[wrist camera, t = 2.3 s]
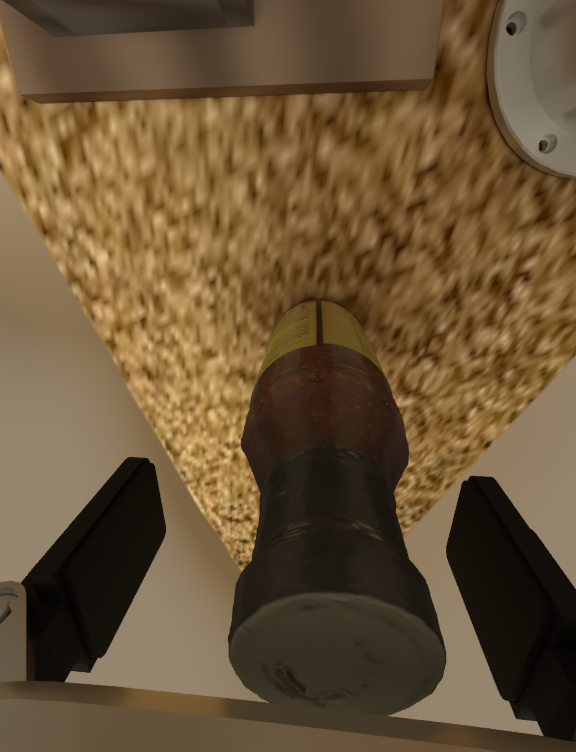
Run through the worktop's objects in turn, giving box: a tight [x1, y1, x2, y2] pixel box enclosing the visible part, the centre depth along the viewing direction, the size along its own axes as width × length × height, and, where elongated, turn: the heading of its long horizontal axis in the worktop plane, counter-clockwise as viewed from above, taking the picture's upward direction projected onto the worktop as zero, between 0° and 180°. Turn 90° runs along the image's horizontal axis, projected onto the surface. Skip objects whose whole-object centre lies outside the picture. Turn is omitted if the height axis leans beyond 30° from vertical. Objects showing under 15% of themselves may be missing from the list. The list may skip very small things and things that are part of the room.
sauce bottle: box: [228, 299, 446, 716], centre depth 15 cm, size 7×6×20 cm
